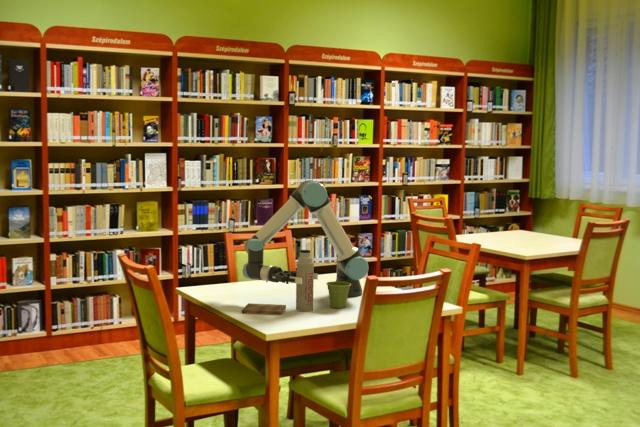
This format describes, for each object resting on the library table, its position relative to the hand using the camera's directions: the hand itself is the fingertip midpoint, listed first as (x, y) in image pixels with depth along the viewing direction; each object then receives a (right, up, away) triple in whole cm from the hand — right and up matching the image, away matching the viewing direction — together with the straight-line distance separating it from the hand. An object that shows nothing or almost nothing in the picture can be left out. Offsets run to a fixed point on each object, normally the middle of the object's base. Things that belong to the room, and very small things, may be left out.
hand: (309, 278), depth 347 cm
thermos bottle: (-3, -15, +3) cm, 15 cm away
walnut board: (-21, -15, 0) cm, 26 cm away
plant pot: (+13, -14, +10) cm, 22 cm away
